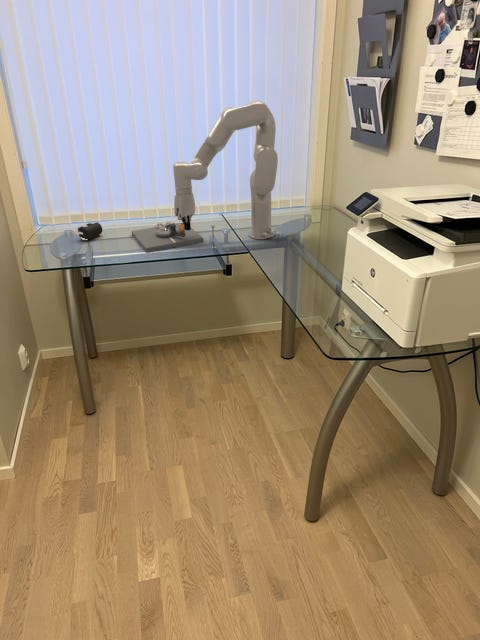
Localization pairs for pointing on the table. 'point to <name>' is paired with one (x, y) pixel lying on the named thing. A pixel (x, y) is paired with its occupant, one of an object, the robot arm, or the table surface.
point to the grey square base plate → (164, 239)
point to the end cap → (90, 230)
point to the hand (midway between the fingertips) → (187, 229)
